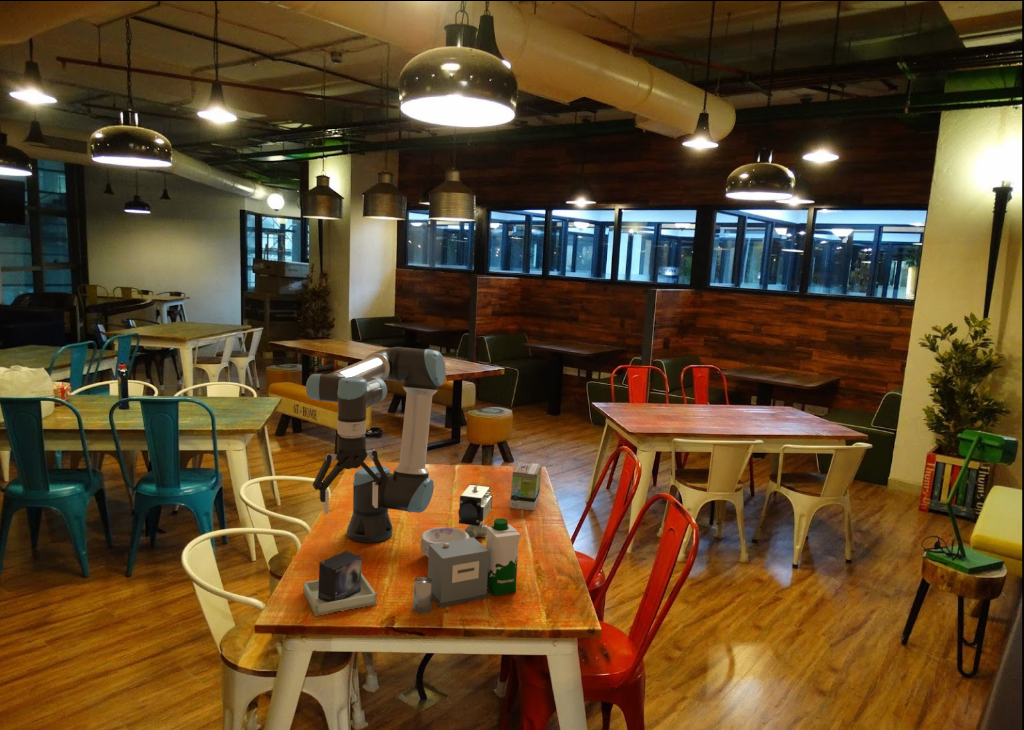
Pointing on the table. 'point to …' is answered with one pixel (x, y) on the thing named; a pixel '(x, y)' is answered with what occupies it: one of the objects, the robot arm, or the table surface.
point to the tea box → (525, 486)
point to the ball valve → (475, 509)
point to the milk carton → (502, 557)
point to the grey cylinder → (422, 595)
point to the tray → (354, 601)
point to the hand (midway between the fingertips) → (350, 509)
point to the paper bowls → (440, 537)
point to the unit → (458, 571)
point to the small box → (339, 577)
